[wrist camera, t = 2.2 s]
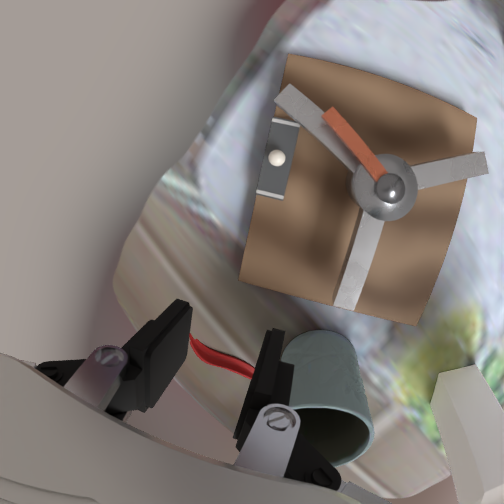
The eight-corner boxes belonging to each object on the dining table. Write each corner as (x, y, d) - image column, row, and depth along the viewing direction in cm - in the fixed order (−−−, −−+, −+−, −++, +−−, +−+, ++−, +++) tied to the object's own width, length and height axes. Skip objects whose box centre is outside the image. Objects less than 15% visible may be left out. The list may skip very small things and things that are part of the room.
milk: (438, 372, 28) (490, 518, 8) (476, 363, 27) (540, 490, 6) (429, 405, 30) (463, 539, 9) (465, 396, 29) (511, 517, 8)
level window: (273, 117, 23) (272, 116, 23) (300, 123, 23) (300, 122, 23) (256, 193, 26) (255, 194, 25) (283, 200, 25) (282, 201, 25)
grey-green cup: (378, 359, 30) (396, 438, 18) (314, 404, 33) (308, 480, 22) (318, 306, 29) (318, 383, 18) (255, 360, 33) (228, 437, 21)
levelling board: (289, 59, 23) (288, 53, 21) (469, 119, 21) (477, 118, 19) (241, 274, 30) (238, 280, 28) (412, 319, 27) (416, 326, 26)
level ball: (271, 148, 24) (269, 147, 22) (287, 152, 24) (286, 151, 22) (268, 164, 24) (265, 164, 23) (284, 168, 24) (282, 167, 23)
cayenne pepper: (178, 333, 34) (171, 341, 32) (201, 314, 33) (195, 322, 31) (245, 394, 35) (242, 404, 33) (271, 380, 34) (269, 390, 32)
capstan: (282, 93, 22) (272, 70, 16) (470, 156, 20) (508, 155, 14) (245, 264, 27) (225, 291, 21) (422, 310, 25) (444, 345, 19)
